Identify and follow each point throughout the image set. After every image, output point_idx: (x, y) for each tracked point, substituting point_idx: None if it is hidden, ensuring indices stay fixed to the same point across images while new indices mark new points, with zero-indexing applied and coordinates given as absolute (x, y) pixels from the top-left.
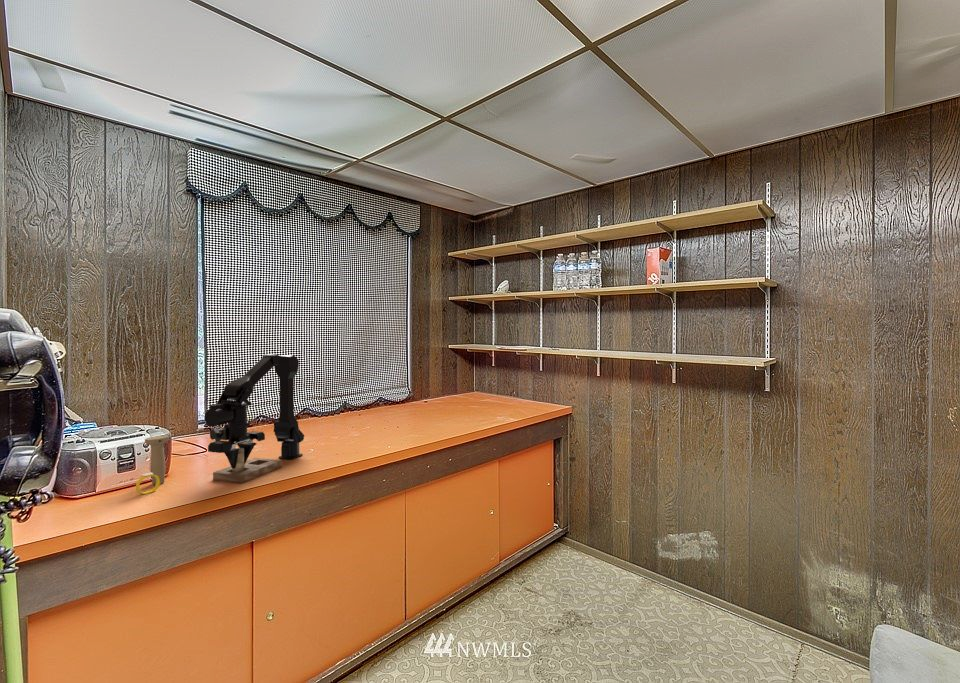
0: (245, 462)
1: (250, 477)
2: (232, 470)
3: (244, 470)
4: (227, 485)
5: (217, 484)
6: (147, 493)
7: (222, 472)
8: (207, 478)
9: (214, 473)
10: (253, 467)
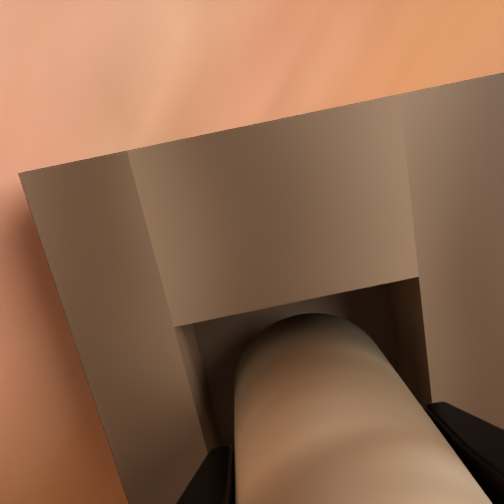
0: None
1: None
2: (239, 390)
3: (412, 370)
4: (70, 493)
5: (19, 378)
6: None
7: (111, 322)
8: (56, 20)
9: (38, 203)
10: None
